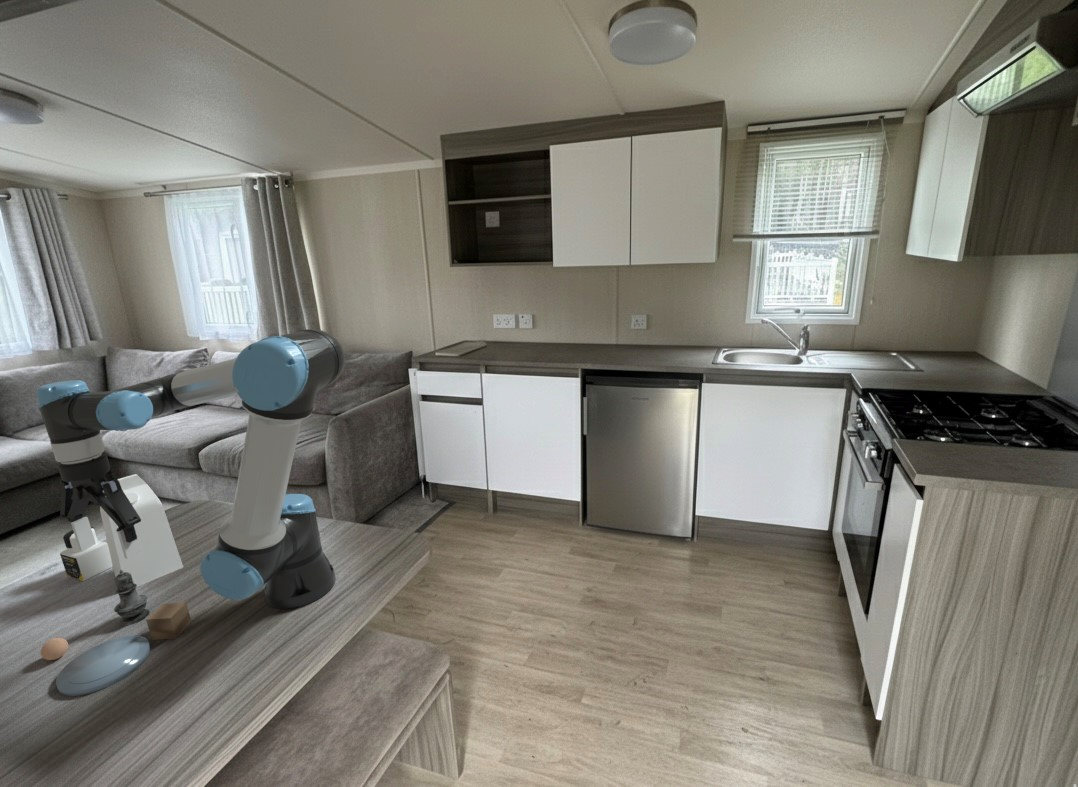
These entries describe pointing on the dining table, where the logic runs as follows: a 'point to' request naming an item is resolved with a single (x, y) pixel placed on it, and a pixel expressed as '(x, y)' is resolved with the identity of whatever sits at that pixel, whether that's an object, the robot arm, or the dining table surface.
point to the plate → (103, 665)
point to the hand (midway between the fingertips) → (109, 551)
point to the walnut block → (168, 621)
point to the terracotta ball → (54, 648)
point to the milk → (143, 536)
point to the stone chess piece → (129, 600)
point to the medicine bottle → (85, 558)
